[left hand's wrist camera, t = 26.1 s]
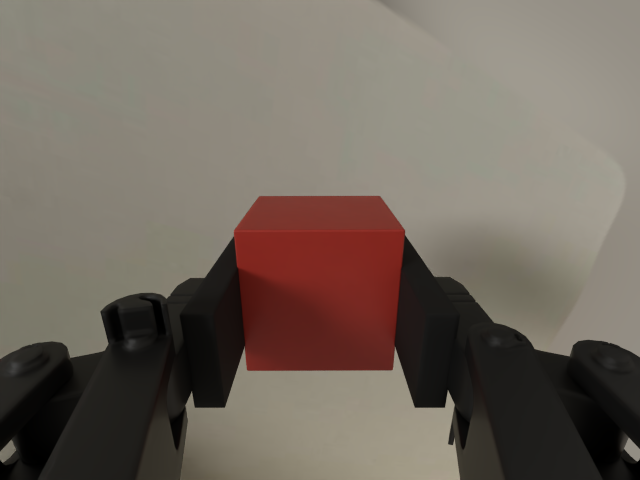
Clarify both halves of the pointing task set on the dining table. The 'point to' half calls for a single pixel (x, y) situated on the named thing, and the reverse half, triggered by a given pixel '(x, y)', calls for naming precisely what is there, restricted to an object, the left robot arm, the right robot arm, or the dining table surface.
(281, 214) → the brick
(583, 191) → the dining table surface
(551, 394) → the left robot arm
